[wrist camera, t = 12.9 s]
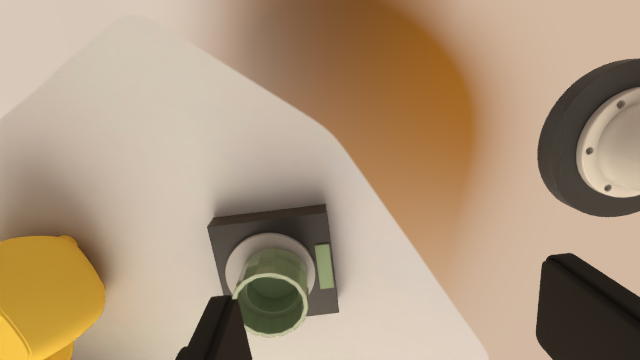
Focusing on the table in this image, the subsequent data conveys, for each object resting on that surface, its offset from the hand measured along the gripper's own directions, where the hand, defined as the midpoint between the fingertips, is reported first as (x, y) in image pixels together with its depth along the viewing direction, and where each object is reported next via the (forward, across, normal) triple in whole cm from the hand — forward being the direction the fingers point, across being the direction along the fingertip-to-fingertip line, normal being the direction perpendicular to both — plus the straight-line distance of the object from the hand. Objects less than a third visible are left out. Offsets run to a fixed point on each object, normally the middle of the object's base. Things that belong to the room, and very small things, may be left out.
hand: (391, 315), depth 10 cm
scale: (+26, +8, +13) cm, 30 cm away
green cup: (+23, +8, +13) cm, 28 cm away
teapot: (+26, +34, +12) cm, 45 cm away
